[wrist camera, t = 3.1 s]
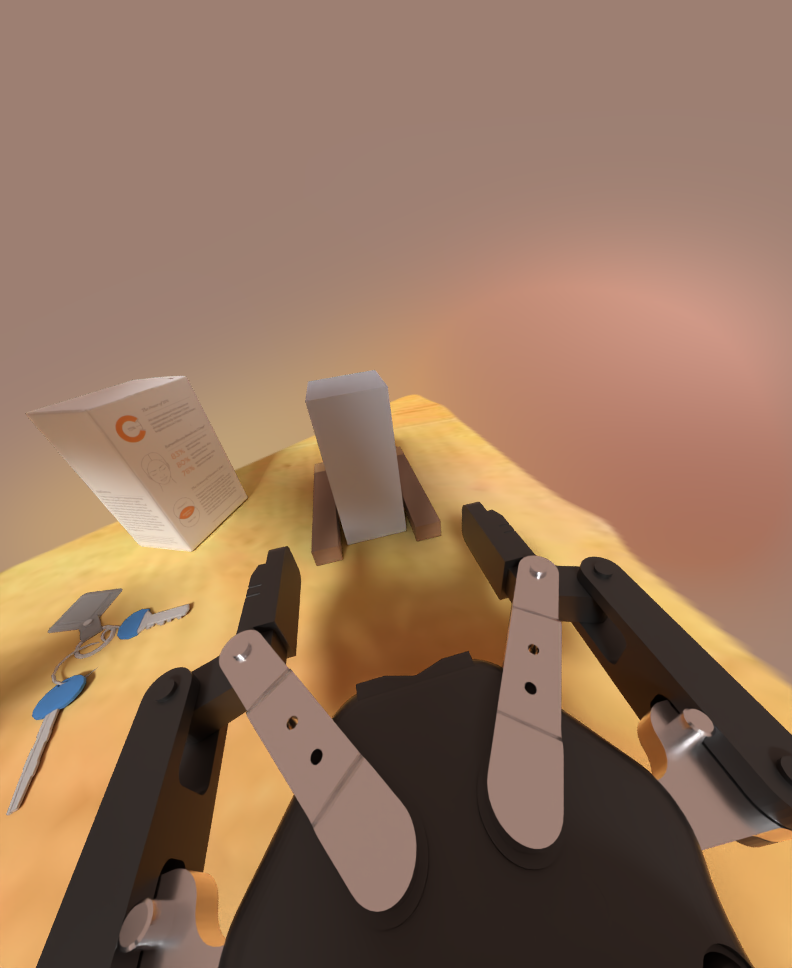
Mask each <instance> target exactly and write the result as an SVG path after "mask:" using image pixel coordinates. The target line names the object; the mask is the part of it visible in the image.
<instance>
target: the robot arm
mask: <svg viewBox="0 0 792 968" xmlns="http://www.w3.org/2000/svg"><path fill="white" fill-rule="evenodd" d="M462 534H463V538H464V540H465V542H466V544H467V546H468V547H469V549H470V551H471V553H472V554H473V556H474V558H475V559H476V561H477V563H478V564H479V566H480V568H481V569H482V571H483V573H484V574H485V576H486V578H487V579H488V581H489V583H490V584H491V586H492V588H493V589H494V591H495V593H496V595H497V596H498V598H499V600H502V599H505V598H509V600H510V601H511V603H512V606H511V613H510V619H509V626H508V632H507V639H506V645H505V652H504V658H503V664H502V667H500V666H498V665H496V664H493V663H491V662H487V661H483V660H476V659H472V658H471V656H470V653H469V651H467V652H463V653H460V654H457V655H453V656H450V657H447V658H443V659H441V660H439V661H438V662H436V663H435V664H433V665H432V666H430V667H429V668H427V669H425V670H424V671H422V672H421V673H419V674H417V675H415V676H383V677H379V678H376V679H372V680H369V681H366V682H362V683H359V684H356V690H357V694H356V695H354V696H353V697H351V698H350V699H349V700H348V701H346V702H345V703H344V704H343V705H342V706H341V708H340V709H339V710H338V711H337V712H336V714H335V715H334V716H333V718H332V719H331V717H330V716H329V715H328V714H327V713H326V711H325V710H324V709H323V708H322V707H321V705H320V704H319V703H318V702H317V700H316V699H315V698H314V697H313V696H312V694H311V693H310V692H309V691H308V690H307V688H306V687H305V686H304V685H303V683H302V682H301V681H300V680H299V679H298V677H297V676H296V675H295V674H294V673H293V671H292V670H291V669H289V668H288V667H287V666H286V659H287V658H290V657H294V656H296V647H297V633H298V619H299V605H300V590H301V576H300V571H299V569H298V566H297V564H296V562H295V560H294V557H293V555H292V553H291V551H290V549H289V547H288V546H285V547H281V548H277V549H272V550H269V552H268V556H267V561H266V564H261V565H258V567H257V568H256V570H255V571H254V573H253V574H252V575H251V578H250V582H249V586H248V587H249V589H248V590H247V594H246V598H245V602H244V606H243V610H242V614H241V618H240V622H239V626H238V630H237V633H236V635H235V636H234V637H233V638H231V639H230V640H229V641H228V642H227V643H226V645H225V646H224V648H223V649H222V651H221V654H220V655H219V656H218V657H217V658H215V659H213V660H212V661H210V662H208V663H206V664H205V665H203V666H201V667H199V668H197V669H196V670H194V671H192V672H191V671H189V670H188V669H187V668H183V667H179V668H175V669H172V670H170V671H168V672H166V673H165V674H163V675H162V676H160V677H159V678H158V679H157V680H156V681H155V682H154V683H153V684H152V685H151V686H150V687H149V689H148V690H147V691H146V693H145V695H144V696H143V699H142V701H141V703H140V706H139V708H138V711H137V714H136V716H135V719H134V721H133V724H132V726H131V729H130V731H129V734H128V736H127V739H126V741H125V744H124V746H123V749H122V751H121V754H120V757H119V759H118V762H117V764H116V767H115V769H114V772H113V774H112V777H111V779H110V782H109V784H108V787H107V789H106V792H105V794H104V797H103V799H102V802H101V805H100V807H99V810H98V812H97V815H96V817H95V820H94V822H93V825H92V827H91V830H90V832H89V835H88V837H87V840H86V842H85V845H84V847H83V850H82V853H81V855H80V858H79V860H78V863H77V865H76V868H75V870H74V873H73V875H72V878H71V880H70V883H69V885H68V888H67V890H66V893H65V895H64V898H63V901H62V903H61V906H60V908H59V911H58V913H57V916H56V918H55V921H54V923H53V926H52V928H51V931H50V933H49V936H48V938H47V941H46V944H45V946H44V949H43V951H42V954H41V956H40V959H39V961H38V964H37V966H36V968H754V967H753V965H752V963H751V962H750V960H749V958H748V957H747V955H746V953H745V951H744V950H743V948H742V946H741V944H740V942H739V940H738V938H737V936H736V934H735V932H734V930H733V928H732V926H731V924H730V922H729V920H728V918H727V916H726V914H725V911H724V909H723V907H722V905H721V902H720V900H719V898H718V895H717V893H716V890H715V888H714V885H713V882H712V880H711V877H710V874H709V871H708V868H707V865H706V861H705V858H704V856H703V853H702V850H704V849H708V848H711V847H715V846H718V845H722V844H725V843H729V842H732V841H737V842H739V843H741V844H743V845H746V846H750V847H761V846H765V845H769V844H774V843H778V842H782V841H786V840H790V839H792V735H791V734H790V733H789V732H788V731H787V730H786V729H785V728H784V727H783V726H782V725H781V724H780V723H779V722H778V721H777V720H776V719H775V718H774V717H773V716H772V715H771V714H770V713H769V712H768V711H767V710H766V709H765V708H764V707H763V706H762V705H761V704H760V703H759V702H757V701H756V700H755V699H754V698H753V697H752V696H751V695H750V694H749V693H748V692H747V691H746V690H745V689H744V688H743V687H742V686H741V685H740V684H739V683H738V682H737V681H736V680H735V679H734V678H733V677H732V676H731V675H730V674H729V673H728V672H727V671H726V670H725V669H724V668H723V667H722V666H721V665H720V664H719V663H718V662H716V661H715V660H714V659H713V658H712V657H711V656H710V655H709V654H708V653H707V652H706V651H705V650H704V649H703V648H702V647H701V646H700V645H699V644H698V643H697V642H696V641H695V640H694V639H693V638H692V637H691V636H690V635H689V634H688V633H687V632H686V631H685V630H684V629H683V628H682V627H681V626H680V625H679V624H678V623H677V622H675V621H674V620H673V619H672V618H671V617H670V616H669V615H668V614H667V613H666V612H665V611H664V610H663V609H662V608H661V607H660V606H659V605H658V604H657V603H656V602H655V601H654V600H653V599H652V598H651V597H650V596H649V595H648V594H647V593H646V592H645V591H644V590H643V589H642V588H641V587H640V586H639V585H638V584H637V583H636V582H635V581H633V580H632V579H631V578H630V577H629V576H628V575H627V574H626V573H625V572H624V571H623V570H622V569H621V568H620V567H619V566H618V565H616V564H615V563H613V562H612V561H610V560H607V559H604V558H600V557H588V558H586V559H584V560H583V561H582V562H581V565H580V567H578V566H556V565H554V564H553V563H552V562H551V561H549V560H548V559H546V558H543V557H540V556H536V555H535V554H534V553H533V552H532V550H531V549H530V548H529V547H528V546H527V544H526V543H525V542H524V541H523V540H522V538H521V537H520V536H519V535H518V534H517V532H516V531H514V529H513V528H512V527H511V525H509V523H508V522H507V521H506V519H505V518H504V517H503V516H502V515H500V514H499V513H497V512H495V511H494V510H489V511H487V510H486V509H485V508H484V507H483V505H482V504H481V503H480V502H475V503H471V504H466V505H463V507H462ZM561 621H567V622H572V624H573V625H574V627H575V628H576V630H577V631H578V632H579V634H580V635H581V637H582V638H583V640H584V641H585V642H586V644H587V645H588V647H589V648H590V650H591V651H592V652H593V654H594V655H595V657H596V658H597V659H598V661H599V662H600V664H601V665H602V667H603V668H604V669H605V671H606V672H607V674H608V675H609V677H610V678H611V679H612V681H613V682H614V684H615V685H616V687H617V688H618V689H619V691H620V692H621V694H622V695H623V696H624V698H625V699H626V701H627V702H628V704H629V705H630V706H631V708H632V709H633V711H634V712H635V714H636V715H637V716H638V718H639V719H640V722H639V723H638V727H637V733H638V738H639V741H640V743H641V746H642V747H643V749H644V751H645V753H646V755H647V757H648V759H649V762H650V766H651V771H652V774H651V773H650V772H649V771H648V770H647V769H645V768H644V767H643V766H642V765H640V764H639V763H638V762H636V761H635V760H633V759H632V758H631V757H629V756H628V755H626V754H625V753H624V752H622V751H621V750H619V749H618V748H616V747H615V746H614V745H612V744H611V743H609V742H608V741H606V740H605V739H604V738H602V737H601V736H599V735H598V734H597V733H595V732H594V731H592V730H591V729H589V728H588V727H587V726H585V725H584V724H582V723H581V722H580V721H578V720H577V719H575V718H574V717H572V716H571V715H570V714H568V713H567V712H565V711H564V710H562V709H561V654H562V625H561ZM246 711H247V712H246ZM245 712H246V714H247V717H248V718H249V720H250V722H251V724H252V725H253V727H254V729H255V730H256V732H257V734H258V735H259V737H260V739H261V740H262V742H263V743H264V745H265V747H266V748H267V750H268V752H269V753H270V755H271V757H272V758H273V760H274V762H275V763H276V765H277V767H278V768H279V770H280V772H281V773H282V775H283V777H284V778H285V780H286V782H287V783H288V785H289V787H290V788H291V790H292V792H293V793H294V795H293V798H292V800H291V802H290V804H289V806H288V808H287V810H286V812H285V814H284V816H283V818H282V820H281V822H280V824H279V826H278V828H277V830H276V832H275V834H274V836H273V838H272V840H271V842H270V844H269V846H268V848H267V850H266V852H265V854H264V857H263V859H262V861H261V863H260V865H259V867H258V869H257V871H256V873H255V875H254V877H253V879H252V881H251V883H250V885H249V887H248V889H247V891H246V893H245V895H244V897H243V899H242V901H241V903H240V905H239V907H238V910H237V912H236V914H235V916H234V919H233V921H232V923H231V926H230V929H229V931H228V934H227V937H226V939H225V937H224V936H223V935H222V932H221V930H220V926H219V921H218V899H219V897H218V888H217V884H216V882H215V880H214V879H213V877H212V876H211V875H209V874H207V873H203V870H204V864H205V858H206V852H207V846H208V841H209V835H210V829H211V823H212V817H213V811H214V805H215V799H216V793H217V787H218V781H219V775H220V769H221V763H222V757H223V752H224V746H225V740H226V734H227V728H228V723H229V722H231V721H232V720H234V719H235V718H237V717H238V716H240V715H241V714H243V713H245Z"/></svg>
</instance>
